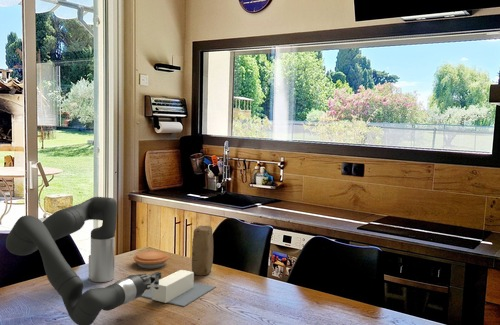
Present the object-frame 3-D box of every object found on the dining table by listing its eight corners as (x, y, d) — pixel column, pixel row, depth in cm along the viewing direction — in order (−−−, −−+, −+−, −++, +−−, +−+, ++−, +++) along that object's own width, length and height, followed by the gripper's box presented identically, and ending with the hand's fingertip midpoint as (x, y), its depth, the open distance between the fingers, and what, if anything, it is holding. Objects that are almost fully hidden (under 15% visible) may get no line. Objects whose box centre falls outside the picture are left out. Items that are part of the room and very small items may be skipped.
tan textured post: (206, 277, 191) (208, 230, 189) (189, 275, 192) (190, 228, 191) (214, 269, 201) (215, 224, 199) (198, 267, 203) (199, 223, 201)
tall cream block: (152, 283, 163) (180, 269, 180) (152, 299, 164) (180, 284, 180) (166, 286, 161) (193, 272, 177) (165, 302, 161) (193, 287, 177)
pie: (175, 265, 205) (175, 254, 205) (146, 272, 194) (146, 261, 193) (155, 257, 216) (155, 247, 215) (126, 264, 204) (126, 253, 204)
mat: (138, 295, 168) (138, 294, 168) (173, 278, 188) (173, 277, 188) (184, 306, 159) (184, 305, 159) (215, 287, 179) (215, 286, 179)
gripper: (143, 282, 143) (175, 267, 159) (110, 275, 149) (144, 261, 164) (142, 305, 144) (174, 288, 159) (110, 297, 149) (144, 281, 165)
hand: (159, 274), depth 162 cm, fingers closed
